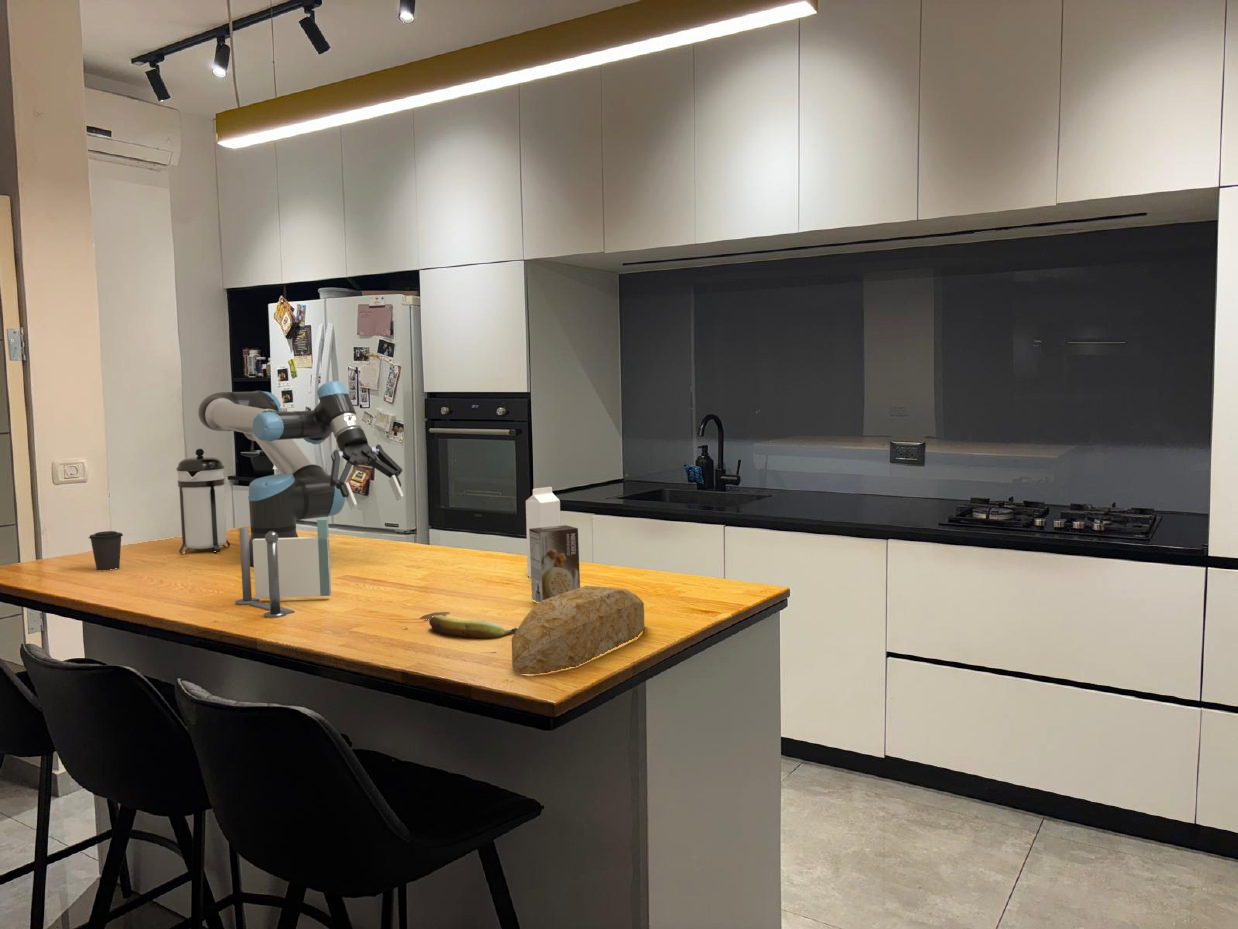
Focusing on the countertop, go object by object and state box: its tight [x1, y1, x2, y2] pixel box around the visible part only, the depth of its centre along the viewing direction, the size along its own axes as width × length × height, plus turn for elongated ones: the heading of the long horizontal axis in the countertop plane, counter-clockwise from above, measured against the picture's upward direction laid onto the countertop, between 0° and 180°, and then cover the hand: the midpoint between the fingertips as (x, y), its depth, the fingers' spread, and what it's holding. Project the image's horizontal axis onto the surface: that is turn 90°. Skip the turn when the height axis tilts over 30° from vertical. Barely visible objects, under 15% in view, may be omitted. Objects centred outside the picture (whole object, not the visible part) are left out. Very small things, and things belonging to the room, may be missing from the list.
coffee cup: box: [88, 530, 124, 571], centre depth 251 cm, size 8×8×10 cm
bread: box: [511, 585, 645, 675], centre depth 169 cm, size 36×11×10 cm, turn 148°
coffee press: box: [175, 448, 231, 554], centre depth 278 cm, size 17×16×30 cm
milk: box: [525, 486, 561, 578], centre depth 231 cm, size 6×6×22 cm
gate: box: [238, 518, 332, 601], centre depth 210 cm, size 19×2×17 cm, turn 95°
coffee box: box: [529, 524, 581, 603], centre depth 205 cm, size 9×6×16 cm
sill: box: [234, 597, 295, 615], centre depth 205 cm, size 20×5×1 cm, turn 50°
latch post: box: [263, 531, 288, 618], centre depth 197 cm, size 4×4×18 cm
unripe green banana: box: [402, 611, 518, 654], centre depth 180 cm, size 35×27×4 cm
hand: (377, 502), depth 248 cm, fingers open, 13 cm apart
